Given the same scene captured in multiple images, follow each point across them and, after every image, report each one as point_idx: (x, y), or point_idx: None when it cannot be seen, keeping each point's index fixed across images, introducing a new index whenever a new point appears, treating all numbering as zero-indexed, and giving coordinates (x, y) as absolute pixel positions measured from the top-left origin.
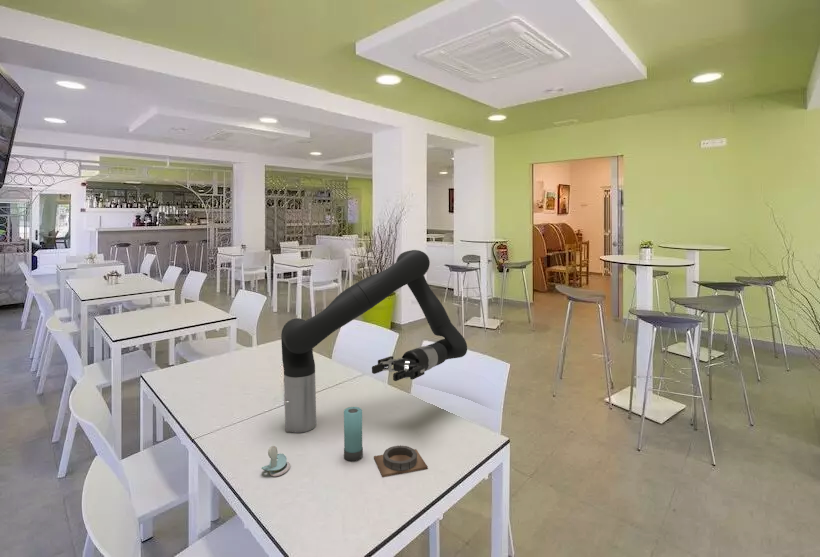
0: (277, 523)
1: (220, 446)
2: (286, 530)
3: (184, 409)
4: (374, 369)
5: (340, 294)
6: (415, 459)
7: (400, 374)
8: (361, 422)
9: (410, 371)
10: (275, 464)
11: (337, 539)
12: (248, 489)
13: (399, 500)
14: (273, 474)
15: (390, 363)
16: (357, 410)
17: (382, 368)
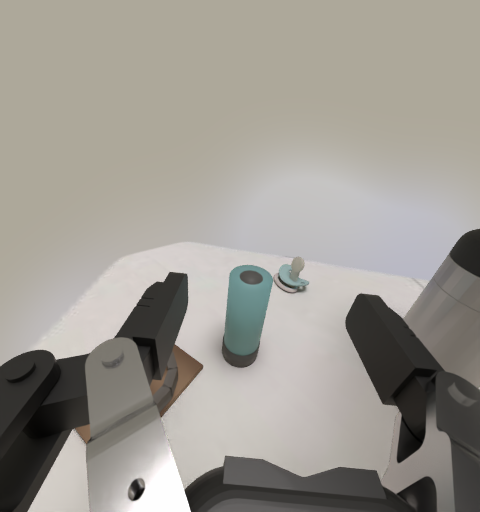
0: (214, 249)
1: (378, 281)
2: (201, 248)
3: None
4: (356, 308)
5: None
6: None
7: (143, 295)
8: (229, 301)
9: (52, 357)
10: (291, 277)
11: (154, 255)
12: (274, 259)
13: (107, 308)
14: (278, 273)
15: (428, 466)
16: (244, 281)
17: (391, 390)
